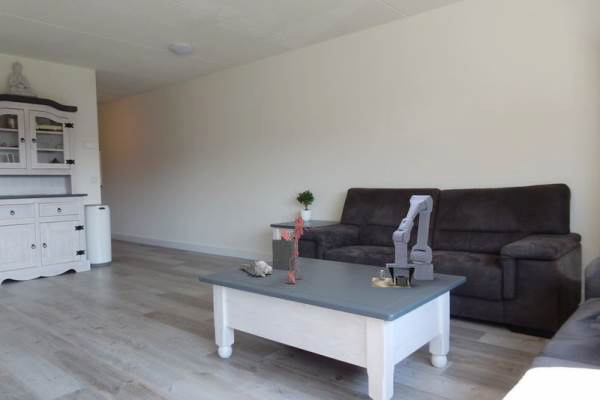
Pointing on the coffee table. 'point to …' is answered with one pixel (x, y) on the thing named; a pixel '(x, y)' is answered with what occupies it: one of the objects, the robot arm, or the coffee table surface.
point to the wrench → (250, 267)
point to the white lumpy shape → (263, 268)
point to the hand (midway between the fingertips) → (401, 283)
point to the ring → (401, 280)
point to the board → (386, 283)
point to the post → (382, 275)
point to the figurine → (297, 232)
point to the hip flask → (283, 254)
